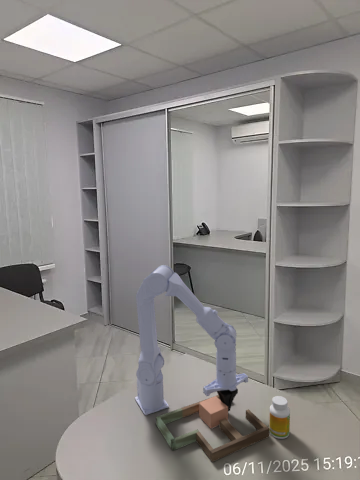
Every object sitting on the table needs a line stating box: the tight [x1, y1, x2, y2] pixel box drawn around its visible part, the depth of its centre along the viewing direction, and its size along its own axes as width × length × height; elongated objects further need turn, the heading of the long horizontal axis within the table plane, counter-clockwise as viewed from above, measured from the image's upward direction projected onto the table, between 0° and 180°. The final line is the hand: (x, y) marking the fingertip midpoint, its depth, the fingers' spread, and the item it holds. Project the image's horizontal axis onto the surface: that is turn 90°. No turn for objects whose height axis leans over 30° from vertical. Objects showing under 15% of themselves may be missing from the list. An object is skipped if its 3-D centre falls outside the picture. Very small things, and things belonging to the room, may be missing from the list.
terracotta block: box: [198, 395, 229, 429], centre depth 101 cm, size 6×6×4 cm
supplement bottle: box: [268, 395, 291, 440], centre depth 95 cm, size 5×5×10 cm
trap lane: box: [155, 394, 270, 463], centre depth 97 cm, size 19×25×2 cm
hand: (226, 409), depth 104 cm, fingers closed
